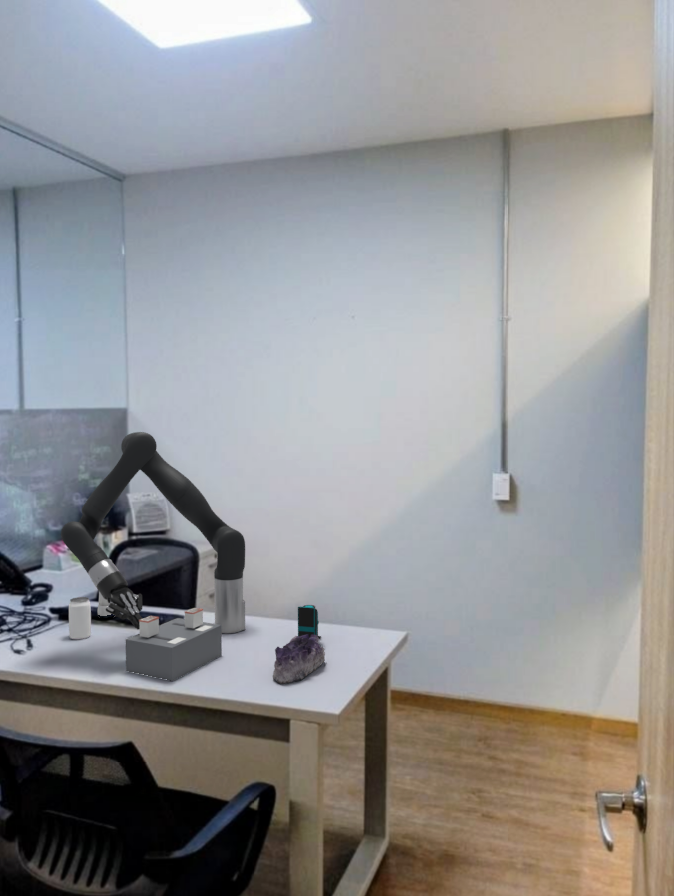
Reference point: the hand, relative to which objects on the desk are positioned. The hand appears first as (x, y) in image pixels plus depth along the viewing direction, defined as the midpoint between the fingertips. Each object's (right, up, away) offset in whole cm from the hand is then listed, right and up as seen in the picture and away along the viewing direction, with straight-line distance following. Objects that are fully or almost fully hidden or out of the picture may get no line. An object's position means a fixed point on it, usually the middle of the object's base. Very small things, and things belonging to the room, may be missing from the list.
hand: (141, 627), depth 195 cm
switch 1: (+2, -2, -1) cm, 4 cm away
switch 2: (+13, -2, +7) cm, 15 cm away
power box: (+9, -11, +3) cm, 14 cm away
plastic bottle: (-25, -9, +47) cm, 54 cm away
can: (-27, -10, +27) cm, 39 cm away
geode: (+44, -12, -3) cm, 45 cm away
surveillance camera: (+46, -10, +22) cm, 52 cm away
